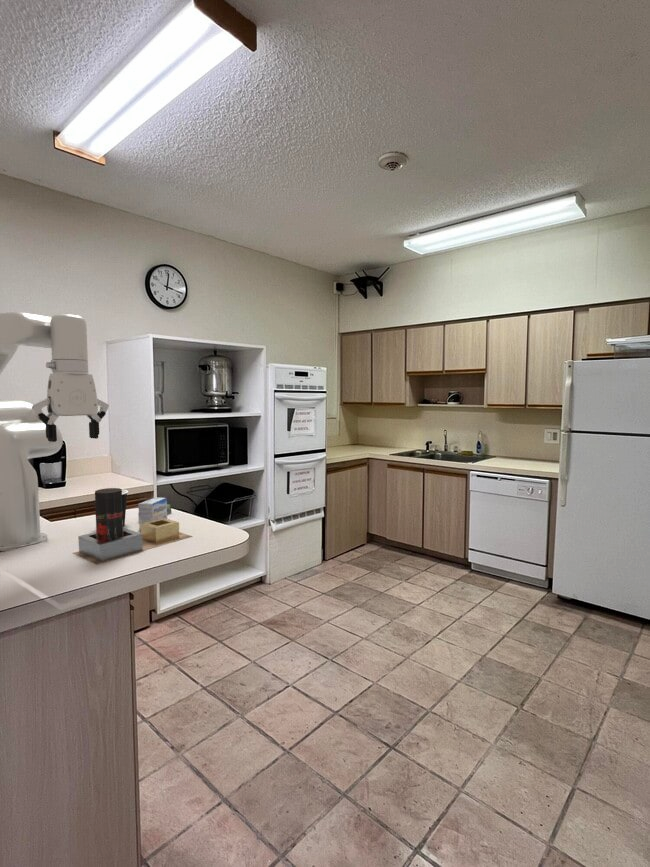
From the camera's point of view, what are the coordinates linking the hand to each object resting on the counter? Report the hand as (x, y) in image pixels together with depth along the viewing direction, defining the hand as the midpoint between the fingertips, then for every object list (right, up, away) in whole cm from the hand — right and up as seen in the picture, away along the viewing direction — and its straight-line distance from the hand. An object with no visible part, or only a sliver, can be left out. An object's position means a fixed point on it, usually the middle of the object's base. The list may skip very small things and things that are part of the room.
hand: (73, 439), depth 112 cm
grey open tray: (+8, -27, +2) cm, 29 cm away
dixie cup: (-1, -27, +23) cm, 35 cm away
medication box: (+8, -26, +33) cm, 43 cm away
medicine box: (+11, -27, +23) cm, 37 cm away
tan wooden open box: (+17, -26, +12) cm, 33 cm away
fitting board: (+12, -28, +7) cm, 31 cm away
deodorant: (+8, -27, +2) cm, 29 cm away
